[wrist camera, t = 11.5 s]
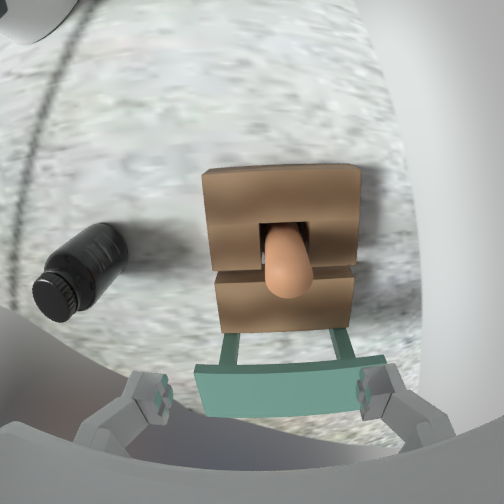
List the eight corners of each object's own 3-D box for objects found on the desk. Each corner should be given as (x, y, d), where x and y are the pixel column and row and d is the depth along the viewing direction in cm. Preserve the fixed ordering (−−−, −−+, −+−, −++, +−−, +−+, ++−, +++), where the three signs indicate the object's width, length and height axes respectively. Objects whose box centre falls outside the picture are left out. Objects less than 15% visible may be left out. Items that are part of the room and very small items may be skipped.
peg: (264, 216, 31) (264, 257, 22) (299, 215, 30) (313, 254, 21) (265, 248, 32) (266, 299, 23) (299, 247, 32) (312, 297, 23)
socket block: (209, 168, 29) (201, 175, 25) (348, 163, 28) (360, 169, 24) (225, 312, 36) (221, 333, 32) (341, 307, 35) (348, 327, 31)
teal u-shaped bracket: (217, 284, 34) (193, 373, 21) (348, 278, 33) (387, 362, 20) (223, 325, 36) (206, 416, 24) (343, 320, 36) (372, 407, 23)
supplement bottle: (78, 223, 32) (15, 265, 21) (124, 220, 31) (66, 267, 20) (89, 273, 34) (38, 327, 23) (134, 275, 34) (88, 336, 23)
